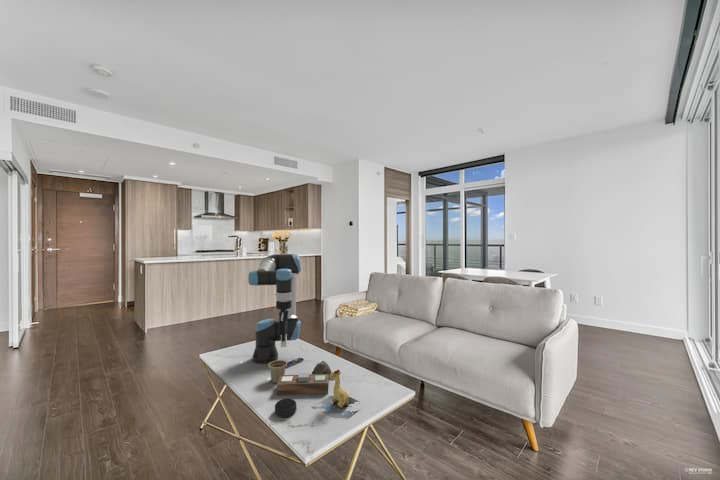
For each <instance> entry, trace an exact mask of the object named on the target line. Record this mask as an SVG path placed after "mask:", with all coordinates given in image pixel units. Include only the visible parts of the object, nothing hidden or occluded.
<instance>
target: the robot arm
mask: <svg viewBox="0 0 720 480" xmlns="http://www.w3.org/2000/svg"><path fill="white" fill-rule="evenodd" d="M301 272H302V268H301V261H300V255H298V254H293V253H292V254H289V253H287V254H286V253H285V254H282V253H281V254H280V253H278V254H277V253H276V254H275V253H274V254H270V255H267V256H266V257H263V259H262V260H260V262H259V267H258V268H257V269H256V270H250V271H249V273H248V276H247V277H248V281H247V283H248V284H249V286H254V287H257V286H275V289H276V292H275V294H274V295H275V296H276V297H275V298H276V299H275V300H276V301H275V308H276V309H277V310H280V312H278V313H279V314H278V316H279V318H278V321H276V319H275V318H266V319H262V320H260V321H258V322H256V324H255V331H254V332H255V346H254V347H255V348H254V351H253V354H252V357H251V358H252V359H251V360H252V362H254V363H256V364H269V363H270V362H272V361H276V360H279V352H278V349H277V344H276V342H280V348H287V347H288V342H289V341H290V342H291V341H297V340H298V339H299V336H300V329H301V320H299V317H298V316H297V278H298V276H299V274H300V273H301Z"/></svg>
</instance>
